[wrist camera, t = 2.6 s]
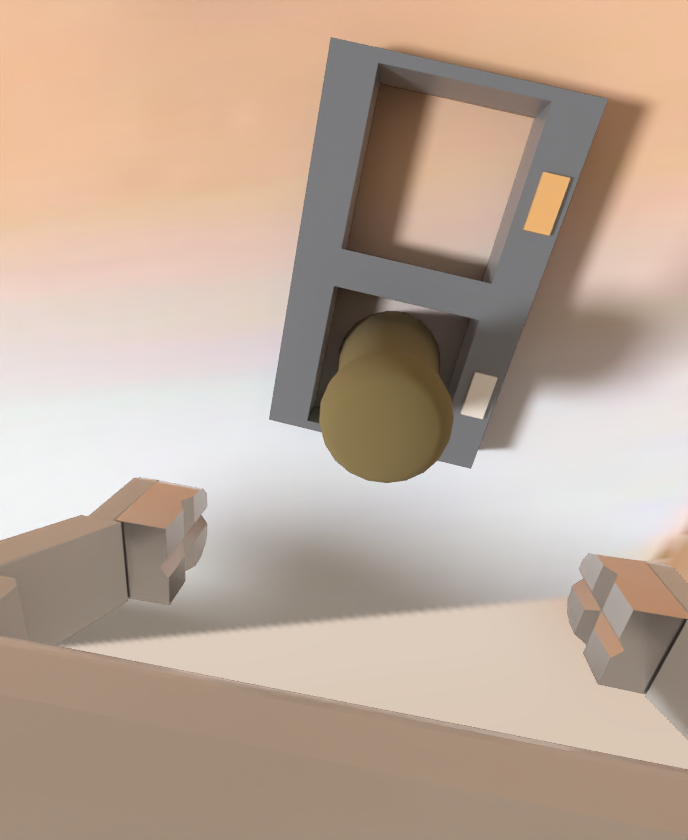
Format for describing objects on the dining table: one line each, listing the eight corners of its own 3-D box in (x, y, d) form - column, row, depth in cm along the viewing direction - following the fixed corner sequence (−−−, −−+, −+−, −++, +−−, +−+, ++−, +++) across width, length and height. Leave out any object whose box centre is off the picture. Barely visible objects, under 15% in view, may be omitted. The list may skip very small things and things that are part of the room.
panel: (464, 451, 27) (471, 470, 24) (279, 405, 27) (268, 420, 25) (584, 115, 20) (610, 97, 18) (337, 60, 21) (330, 34, 18)
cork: (455, 327, 24) (499, 378, 14) (421, 422, 27) (438, 526, 16) (352, 298, 24) (322, 328, 14) (327, 396, 27) (285, 483, 16)
